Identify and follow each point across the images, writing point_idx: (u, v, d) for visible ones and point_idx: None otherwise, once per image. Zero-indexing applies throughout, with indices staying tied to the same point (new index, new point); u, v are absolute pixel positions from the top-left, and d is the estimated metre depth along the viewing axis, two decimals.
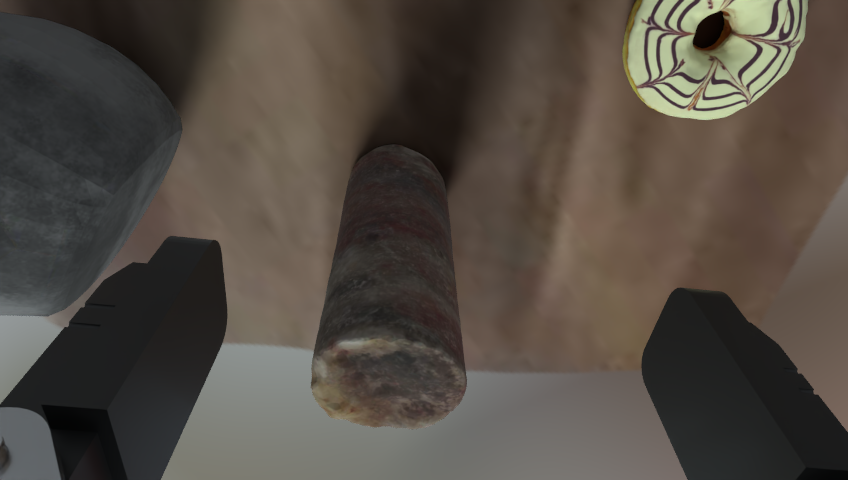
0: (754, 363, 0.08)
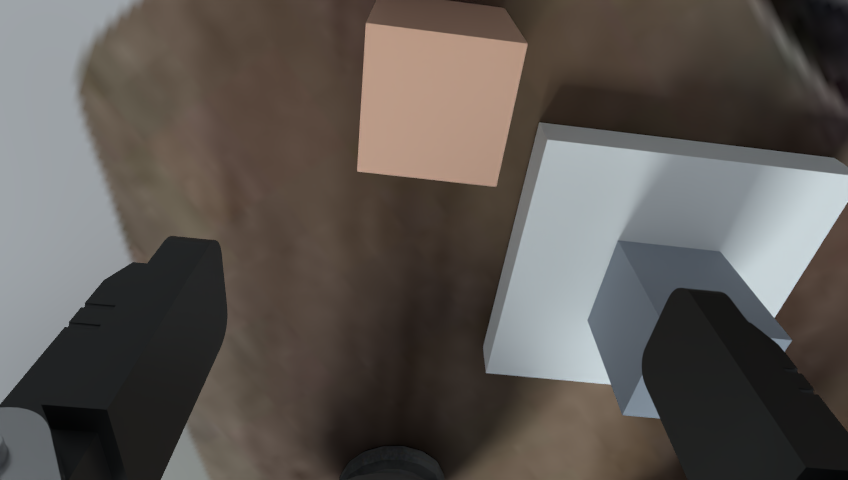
0: (754, 363, 0.08)
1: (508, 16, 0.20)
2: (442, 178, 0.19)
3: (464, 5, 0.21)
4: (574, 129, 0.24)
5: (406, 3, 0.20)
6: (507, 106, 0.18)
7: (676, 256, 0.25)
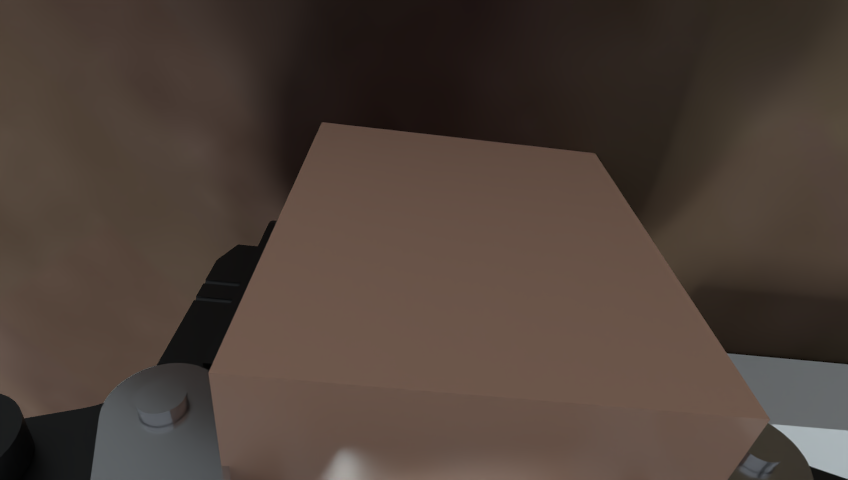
0: None
1: (620, 197, 0.08)
2: None
3: (510, 157, 0.09)
4: None
5: (375, 175, 0.08)
6: None
7: None
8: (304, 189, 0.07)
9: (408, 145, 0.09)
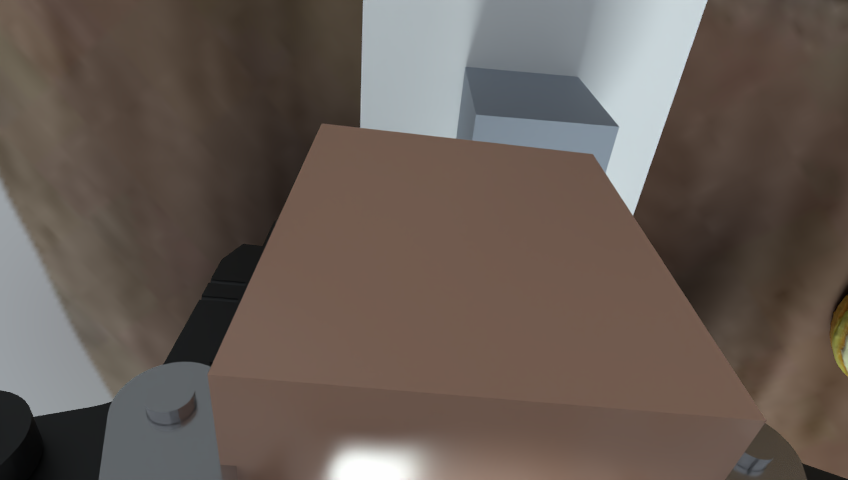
0: None
1: (618, 199, 0.08)
2: None
3: (509, 159, 0.09)
4: None
5: (374, 177, 0.08)
6: None
7: (524, 77, 0.23)
8: (303, 191, 0.07)
9: (407, 147, 0.09)
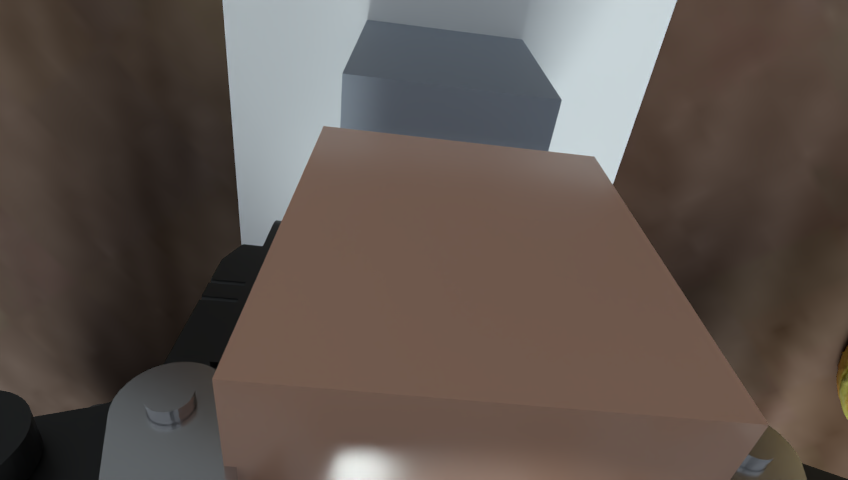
0: None
1: (620, 202, 0.08)
2: None
3: (511, 162, 0.09)
4: None
5: (376, 180, 0.08)
6: None
7: (446, 35, 0.16)
8: (306, 194, 0.07)
9: (409, 150, 0.09)
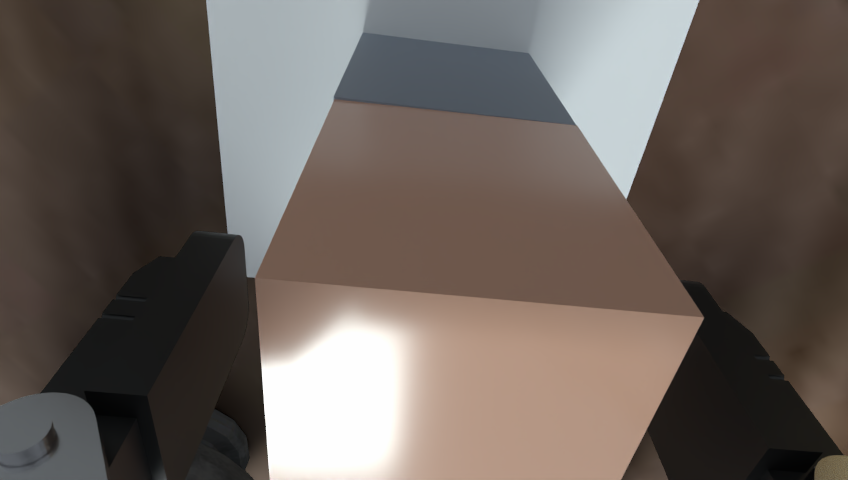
0: (725, 350, 0.08)
1: (597, 161, 0.10)
2: None
3: (501, 129, 0.10)
4: None
5: (382, 142, 0.09)
6: (628, 431, 0.07)
7: (447, 50, 0.15)
8: (322, 152, 0.09)
9: (411, 118, 0.10)
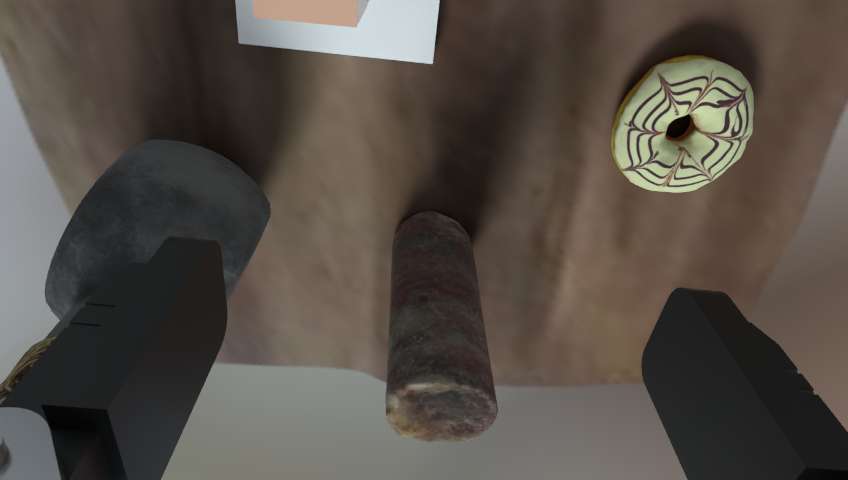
0: (754, 363, 0.08)
1: None
2: (316, 21, 0.26)
3: None
4: None
5: None
6: None
7: None
8: None
9: None
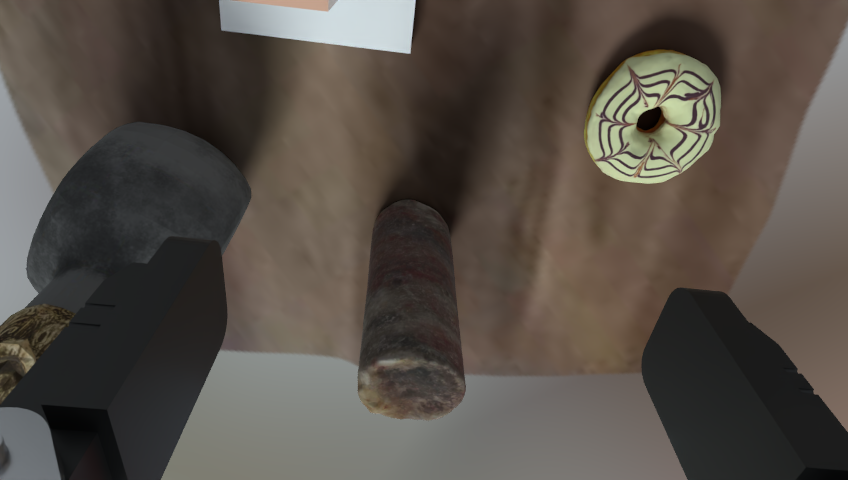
0: (754, 363, 0.08)
1: None
2: (289, 5, 0.27)
3: None
4: None
5: None
6: None
7: None
8: None
9: None
